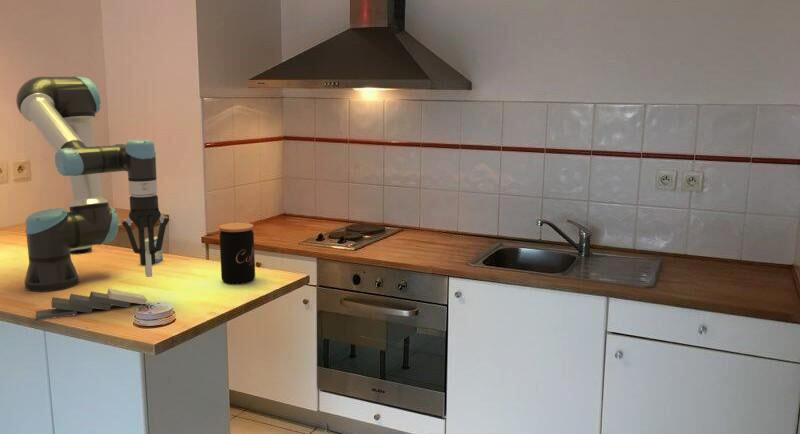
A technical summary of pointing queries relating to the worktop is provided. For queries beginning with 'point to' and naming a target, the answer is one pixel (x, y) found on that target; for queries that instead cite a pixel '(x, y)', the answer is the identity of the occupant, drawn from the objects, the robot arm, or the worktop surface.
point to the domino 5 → (126, 296)
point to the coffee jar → (237, 253)
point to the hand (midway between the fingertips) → (148, 275)
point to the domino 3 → (87, 302)
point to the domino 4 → (107, 299)
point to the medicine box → (157, 255)
